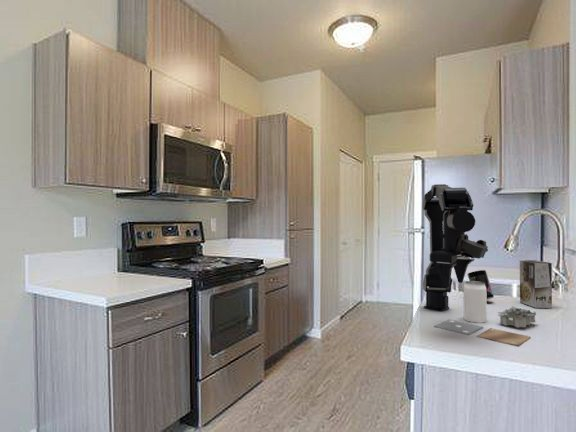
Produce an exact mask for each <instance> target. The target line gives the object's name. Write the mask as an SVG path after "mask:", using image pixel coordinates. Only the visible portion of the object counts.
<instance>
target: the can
mask: <svg viewBox="0 0 576 432" xmlns="http://www.w3.org/2000/svg"><path fill="white" fill-rule="evenodd" d="M463 285H464V286H463V320H465V321H467V322H471V323H486V322H487V317H488V316H487V313H488V312H487V310H488V309H487V305H488V304H487V293H486V286H485V283H484V282H479V281H469V280H467V281H466V280H465V282H464V284H463Z"/></svg>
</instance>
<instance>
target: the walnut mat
mask: <svg viewBox="0 0 576 432" xmlns="http://www.w3.org/2000/svg"><path fill="white" fill-rule="evenodd" d="M476 338H479V339H484V340H488V341H493V342H497V343H501V344H504V345H509V346H514V347H518V348H519V347H520V346H522V345H524V342H525V343H526V342H528V341H529V340H531V338H532V337H531V336H528V335H524V334H519V333H516V332H511V331H506V330H502V329H501V330H500V329H496V328H493V327H492V328H491V327H490V328H488V329H486V330H485V331H482V332H481V333H478V334H477V335H476Z"/></svg>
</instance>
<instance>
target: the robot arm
mask: <svg viewBox="0 0 576 432" xmlns="http://www.w3.org/2000/svg"><path fill="white" fill-rule="evenodd" d="M422 210H423V211H424V216H425V217H426V219H427V221H428V222H429V252H430V254H429V262H430V263H429V264H428V266H427V267H426V269H425V274H424V276H423V277H424V278H423V281H422V289H423V291H424V292H425V305H424V306H423V309H428V310H432V311H439V312H443V311H445V310H448V309H450V306H449V295H448V293H452V285H453V279H452V272H453V271H452V269H454V272H455V276H456V279H457V282H458V283H460V284H462V283H463V282H464V280H465V276H466V273H467V270H468V266H469V265H470V264H471V263H472V262H474V261H475V259H478V260H479V259H481V258H485V254H486V253H487V252H488V251H489V249H488V246H487V240H486V241H485V240H483V239H478V240H477V241H474V240H470V239H469V235H468V234H466V233H468V232H470V231H472V230H473V228H475V225H476V219H475V216H474V214H472V213H471V212H470V211H473V210H474V202H473V198H472V197H471V194H470V192H469V191H467V188H466V187H451V186H449V185H448V184H444V183H442V184H432V185H431V189H430V190H429V191H427V192H426V193H425V194H424V196H423V200H422Z"/></svg>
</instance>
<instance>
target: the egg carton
mask: <svg viewBox="0 0 576 432" xmlns="http://www.w3.org/2000/svg"><path fill="white" fill-rule="evenodd" d="M536 316H537V312H536V311H533V312H532V311H530V309H524V308H520V307H519V308H518V307H515V306H511V307H510V308H508V309H505V310H503V311H498V317H499V319H500V324H501V325H503V326H514V327H515V328H526V327H527V326H530V325H531V323H533V324H534V323H536V318H535V317H536Z"/></svg>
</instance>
